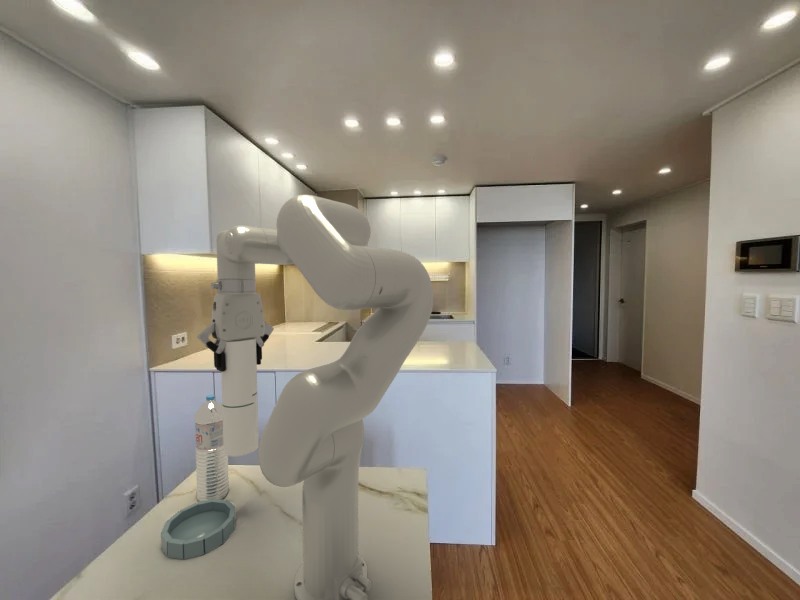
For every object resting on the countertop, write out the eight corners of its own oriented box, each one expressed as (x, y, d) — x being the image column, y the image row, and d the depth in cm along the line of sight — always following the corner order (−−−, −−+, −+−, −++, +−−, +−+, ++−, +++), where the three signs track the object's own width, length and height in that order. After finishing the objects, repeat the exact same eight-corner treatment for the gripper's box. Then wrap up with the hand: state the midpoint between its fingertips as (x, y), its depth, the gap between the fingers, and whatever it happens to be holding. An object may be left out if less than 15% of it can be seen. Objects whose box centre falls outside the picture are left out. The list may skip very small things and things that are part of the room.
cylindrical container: (264, 441, 80) (262, 336, 78) (247, 457, 73) (244, 342, 71) (236, 440, 81) (233, 336, 79) (216, 455, 74) (213, 341, 72)
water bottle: (200, 490, 85) (197, 393, 84) (230, 484, 87) (227, 389, 86) (194, 507, 79) (190, 402, 77) (227, 501, 81) (224, 398, 80)
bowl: (246, 530, 72) (246, 516, 71) (176, 570, 62) (175, 555, 61) (219, 504, 80) (219, 492, 80) (153, 536, 70) (153, 522, 70)
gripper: (200, 288, 66) (203, 378, 67) (282, 287, 79) (283, 362, 80) (186, 288, 70) (189, 372, 71) (265, 287, 84) (267, 357, 85)
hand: (239, 366), depth 76 cm, fingers closed on cylindrical container, 7 cm apart
